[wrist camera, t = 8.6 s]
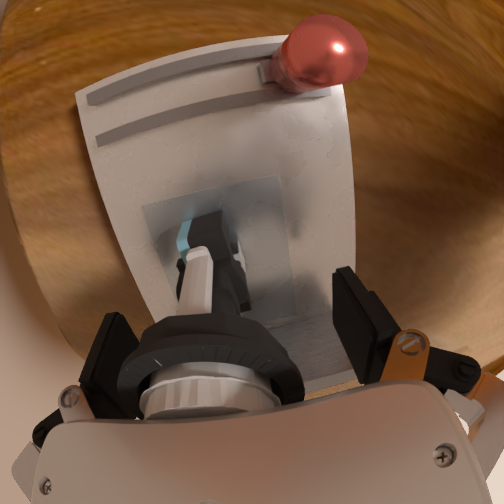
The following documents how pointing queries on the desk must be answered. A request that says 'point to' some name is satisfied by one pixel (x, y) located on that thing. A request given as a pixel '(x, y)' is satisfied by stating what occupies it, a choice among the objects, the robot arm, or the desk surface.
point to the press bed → (231, 185)
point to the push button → (208, 341)
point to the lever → (317, 56)
